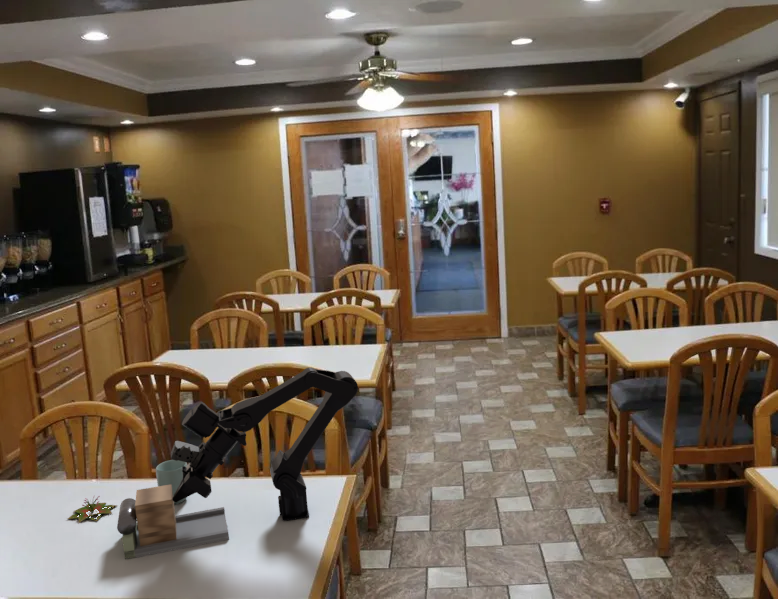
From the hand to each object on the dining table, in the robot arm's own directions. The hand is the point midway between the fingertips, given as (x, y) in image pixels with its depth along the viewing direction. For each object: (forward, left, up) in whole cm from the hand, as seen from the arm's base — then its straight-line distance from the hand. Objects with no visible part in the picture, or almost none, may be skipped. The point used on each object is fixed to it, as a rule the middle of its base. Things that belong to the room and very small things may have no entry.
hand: (173, 500), depth 175 cm
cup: (+2, -20, -9) cm, 22 cm away
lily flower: (+23, -20, -9) cm, 32 cm away
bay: (0, 0, -9) cm, 9 cm away
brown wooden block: (+4, 0, -8) cm, 9 cm away
